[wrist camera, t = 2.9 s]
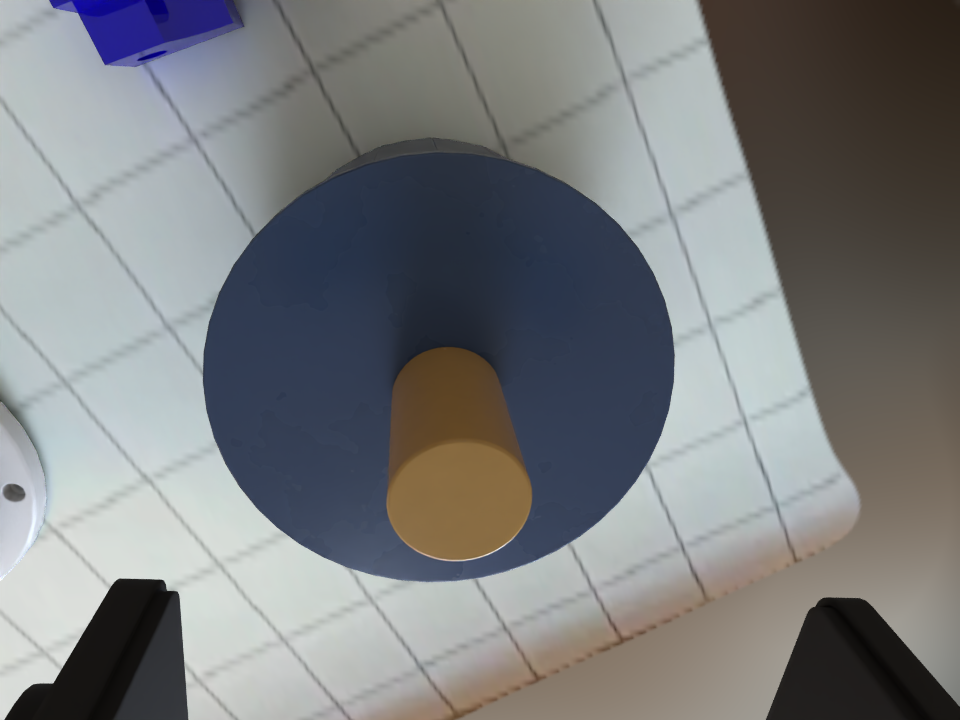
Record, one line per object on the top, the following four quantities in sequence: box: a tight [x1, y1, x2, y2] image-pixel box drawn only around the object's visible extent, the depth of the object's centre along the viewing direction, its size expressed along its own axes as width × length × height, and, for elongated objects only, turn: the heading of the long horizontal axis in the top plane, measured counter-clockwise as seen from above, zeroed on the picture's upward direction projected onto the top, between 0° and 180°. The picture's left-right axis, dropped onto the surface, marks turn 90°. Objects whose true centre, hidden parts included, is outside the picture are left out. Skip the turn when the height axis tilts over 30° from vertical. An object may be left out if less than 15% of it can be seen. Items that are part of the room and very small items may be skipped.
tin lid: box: [203, 150, 675, 582], centre depth 16 cm, size 13×13×6 cm
